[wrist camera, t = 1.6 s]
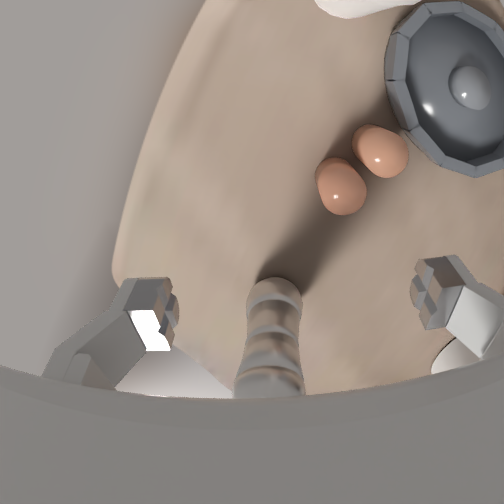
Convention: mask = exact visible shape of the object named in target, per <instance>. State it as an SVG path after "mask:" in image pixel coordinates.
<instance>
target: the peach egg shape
mask: <svg viewBox="0 0 504 504" xmlns="http://www.w3.org/2000/svg"><path fill="white" fill-rule="evenodd" d="M315 181H316V184H317V187H318V190H319V193H320V196H321V199H322V202H323V204H324V205H325V207H326V208H327V209H328V210H329V211H331V212H332V213H335V214H338V215H348V214H352V213H354V212H356V211H357V210H359V209H360V208H361V206H362V205H363V204H364V202H365V199H366V195H367V189H366V185H365V182H364V181H363V179H362V178H361V177H360V176H359V174H358V173H357V172H356V171H355V170H354V168H353V167H352V166H351V165H350V164H349V163H348V162H347V161H346V160H344V159H342V158H338V157H331V158H328V159H325V160H324V161H322V162H321V163H320V164H319V166H318V167H317V169H316V172H315Z"/></svg>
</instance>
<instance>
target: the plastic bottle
mask: <svg viewBox="0 0 504 504" xmlns="http://www.w3.org/2000/svg"><path fill="white" fill-rule="evenodd" d="M302 308H303V302H302V299H301V296H300V293H299V290H298V289H297V287H296V286H295V285H294V284H293V283H291V282H290V281H288V280H286V279H283V278H279V277H271V278H267V279H264V280H262V281H260V282H258V283H257V284H255V286H254V287H253V288H252V289H251V291H250V293H249V296H248V298H247V301H246V315H247V339H246V344H245V348H244V353H243V357H242V361H241V364H240V367H239V370H238V372H237V375H236V378H235V381H234V384H233V388H232V397H233V399H246V398H276V397H292V396H305V395H306V390H305V383H304V378H303V373H302V368H301V363H300V355H299V344H298V337H299V324H300V319H301V315H302Z"/></svg>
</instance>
